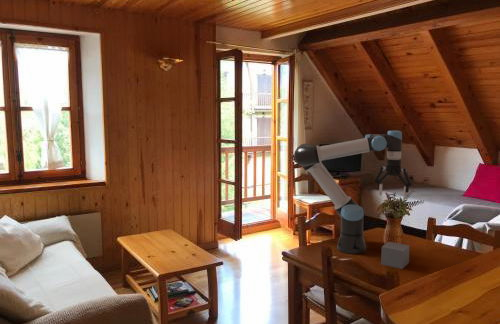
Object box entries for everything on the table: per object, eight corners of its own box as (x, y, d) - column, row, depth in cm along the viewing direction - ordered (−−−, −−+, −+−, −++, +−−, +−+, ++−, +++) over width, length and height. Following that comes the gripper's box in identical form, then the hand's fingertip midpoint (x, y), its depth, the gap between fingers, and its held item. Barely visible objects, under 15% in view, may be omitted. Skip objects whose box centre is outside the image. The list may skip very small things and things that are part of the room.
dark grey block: (388, 258, 213) (388, 241, 212) (408, 262, 207) (409, 245, 206) (381, 264, 205) (381, 246, 204) (402, 269, 198) (403, 251, 197)
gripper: (369, 158, 235) (368, 195, 238) (415, 161, 220) (413, 200, 223) (374, 156, 241) (373, 193, 244) (419, 159, 226) (417, 198, 229)
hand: (392, 196), depth 233 cm, fingers open, 13 cm apart
